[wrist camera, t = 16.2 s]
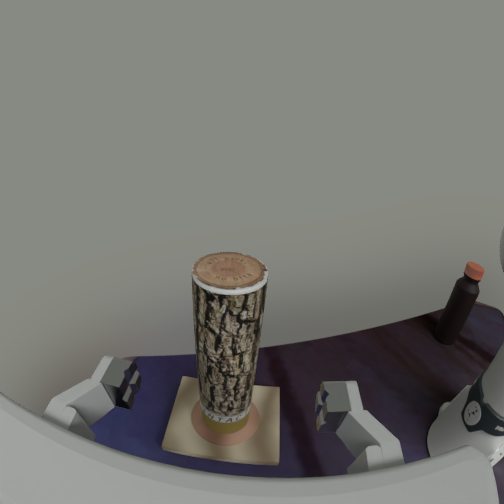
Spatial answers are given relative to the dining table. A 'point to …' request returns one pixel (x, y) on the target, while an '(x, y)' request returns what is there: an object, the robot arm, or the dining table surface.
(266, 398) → the holder board
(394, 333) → the dining table surface
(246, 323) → the bark print tube
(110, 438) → the dining table surface
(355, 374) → the dining table surface
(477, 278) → the bottle
